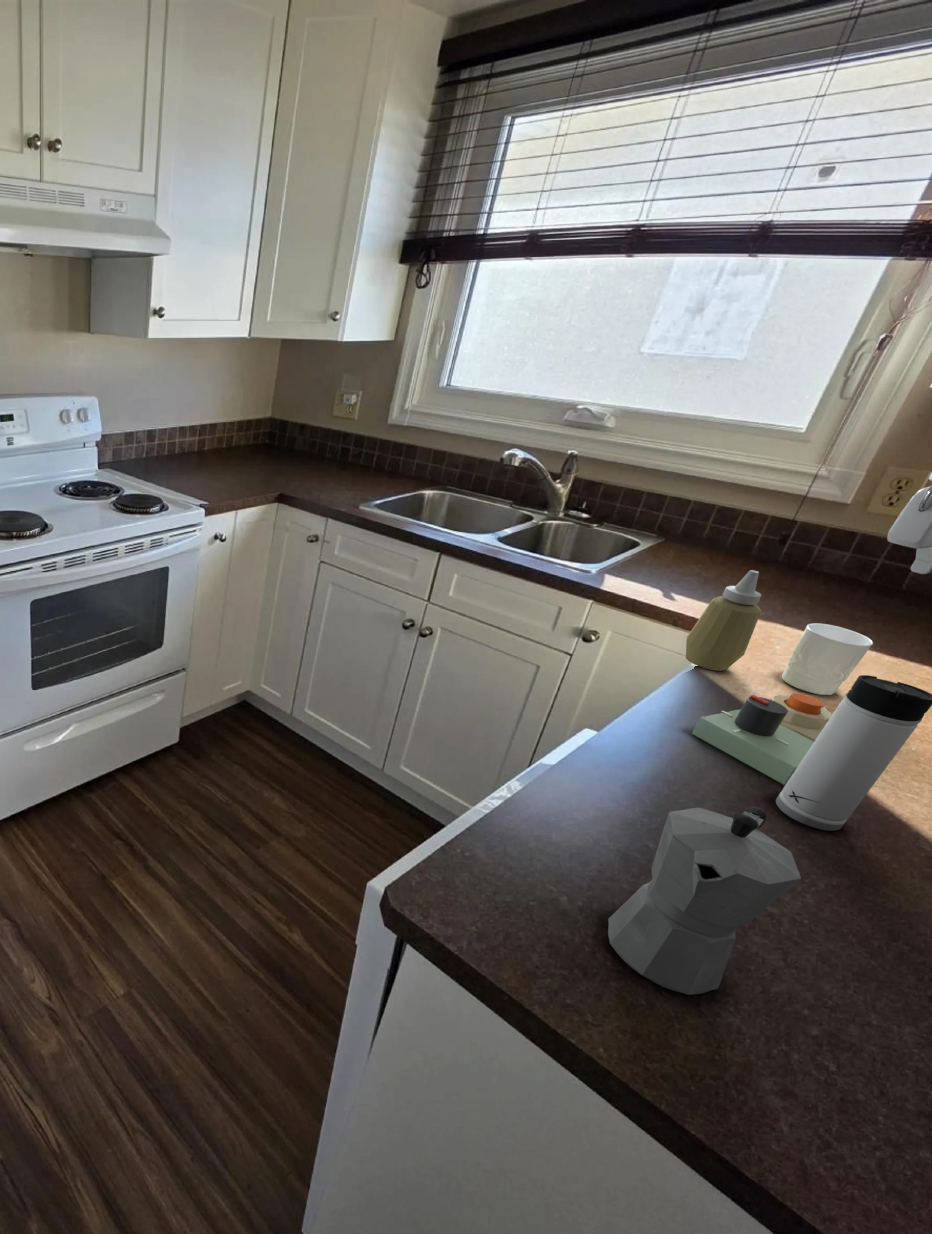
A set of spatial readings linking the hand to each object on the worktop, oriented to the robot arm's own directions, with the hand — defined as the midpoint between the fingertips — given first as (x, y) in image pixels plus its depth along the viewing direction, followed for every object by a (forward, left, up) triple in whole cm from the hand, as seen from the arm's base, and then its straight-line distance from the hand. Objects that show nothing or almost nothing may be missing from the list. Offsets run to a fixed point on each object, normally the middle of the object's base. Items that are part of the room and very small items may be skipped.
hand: (923, 571), depth 94 cm
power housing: (-1, +8, -26) cm, 27 cm away
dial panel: (-3, +20, -26) cm, 33 cm away
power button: (0, +8, -22) cm, 23 cm away
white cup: (+8, -11, -26) cm, 29 cm away
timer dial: (-1, +20, -22) cm, 30 cm away
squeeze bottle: (+18, -1, -26) cm, 31 cm away
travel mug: (-14, +29, -26) cm, 41 cm away
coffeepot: (-23, +68, -26) cm, 76 cm away
